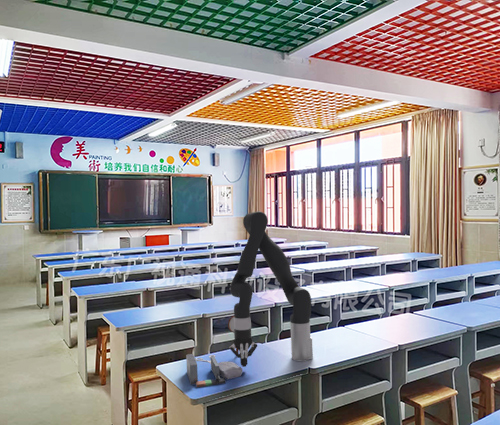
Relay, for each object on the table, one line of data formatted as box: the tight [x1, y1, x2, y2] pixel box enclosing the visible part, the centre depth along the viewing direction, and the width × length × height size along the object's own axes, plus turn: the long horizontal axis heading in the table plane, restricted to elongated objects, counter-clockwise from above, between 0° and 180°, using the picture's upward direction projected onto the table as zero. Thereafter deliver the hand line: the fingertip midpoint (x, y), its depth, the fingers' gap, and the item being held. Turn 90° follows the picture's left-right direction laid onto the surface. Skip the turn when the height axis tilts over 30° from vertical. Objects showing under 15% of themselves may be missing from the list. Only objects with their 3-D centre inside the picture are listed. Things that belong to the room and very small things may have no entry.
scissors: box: [195, 354, 216, 365], centre depth 195 cm, size 11×1×20 cm
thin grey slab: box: [210, 356, 222, 380], centre depth 177 cm, size 2×18×6 cm, turn 15°
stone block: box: [217, 360, 243, 381], centre depth 180 cm, size 12×5×10 cm
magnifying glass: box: [227, 315, 240, 354], centre depth 202 cm, size 9×2×20 cm, turn 117°
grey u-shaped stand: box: [185, 353, 227, 388], centre depth 176 cm, size 14×18×8 cm
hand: (244, 366), depth 182 cm, fingers closed
